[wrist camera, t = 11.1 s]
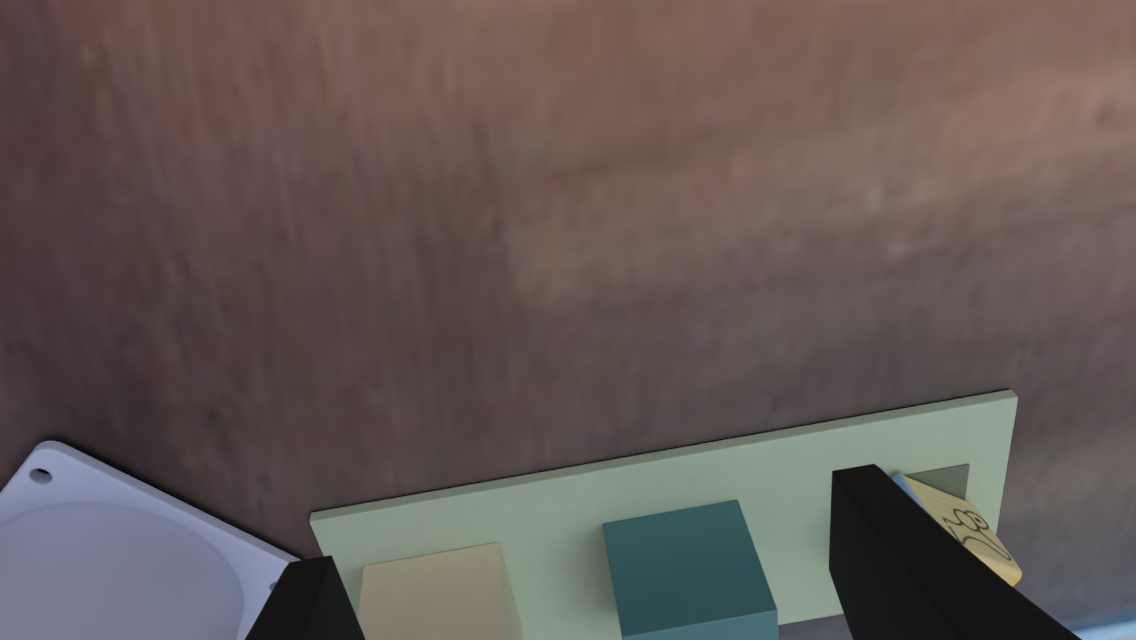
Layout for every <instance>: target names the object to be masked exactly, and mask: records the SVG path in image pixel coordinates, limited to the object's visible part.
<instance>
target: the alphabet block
mask: <svg viewBox="0 0 1136 640" xmlns="http://www.w3.org/2000/svg"><path fill="white" fill-rule="evenodd" d="M891 479H892V480H893V481H894V482H895V483H897V484H898V485H899V486H900V487H901V488H902V489H903V490H904V491H905V492H906V493H907V494H908V495H909V496H910V497H911V498H912V499H913V500H914V501H915V502H916V503H918V504H919V505H920V506H921V507H922V508H923V509H924V510H925V511H926V512H927V513H928V514H929V515H930V516H932V517H933V518H934V519H935V520H936V521H937V522H938V523H939V524H940V525H941V526H942V527H944V528H945V529H946V530H947V531H948V532H949V533H950V534H951V535H952V536H954V537H955V538H956V539H957V540H958V541H959V542H960V543H961V544H963V545H964V546H965V547H966V548H967V549H968V550H970V551H971V552H972V553H973V554H974V555H975V556H977V557H978V558H979V559H980V560H981V561H982V562H984V563H985V564H986V565H987V566H988V567H989V568H991V569H992V570H993V571H994V572H995V573H997V574H998V575H999V576H1000V577H1001V578H1002V579H1004V580H1005V581H1006V582H1007V583H1009V584H1010V585H1011V586H1012V587H1013V586H1014V585H1015V584H1016V583H1017V582H1018V581H1019V580H1020V579H1021V576H1022V572H1021V570H1020V568H1019V567H1018V565H1017V564H1016V562H1015V561H1014V559H1013V558H1012V557H1011V555H1010V554H1009V553H1008V551H1007V550H1006V549H1005V547H1004V546H1003V545H1002V543H1001V542H1000V541H999V539H998V538H997V537H996V535H995V534H994V532H993V531H992V529H991V528H990V527H989V525H988V524H987V522H986V521H985V520H984V518H983V517H982V515H981V514H980V512H979V511H978V510H977V508H976V507H975V505H974V504H972V503H970V502H968V501H965V500H962V499H960V498H958V497H955V496H953V495H950V494H948V493H945V492H943V491H940V490H938V489H935V488H933V487H930V486H928V485H926V484H923V483H921V482H918V481H916V480H913V479H911V478H908V477H906V476H904V475H902V474H896V475H894V476H893V477H892V478H891Z"/></svg>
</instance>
